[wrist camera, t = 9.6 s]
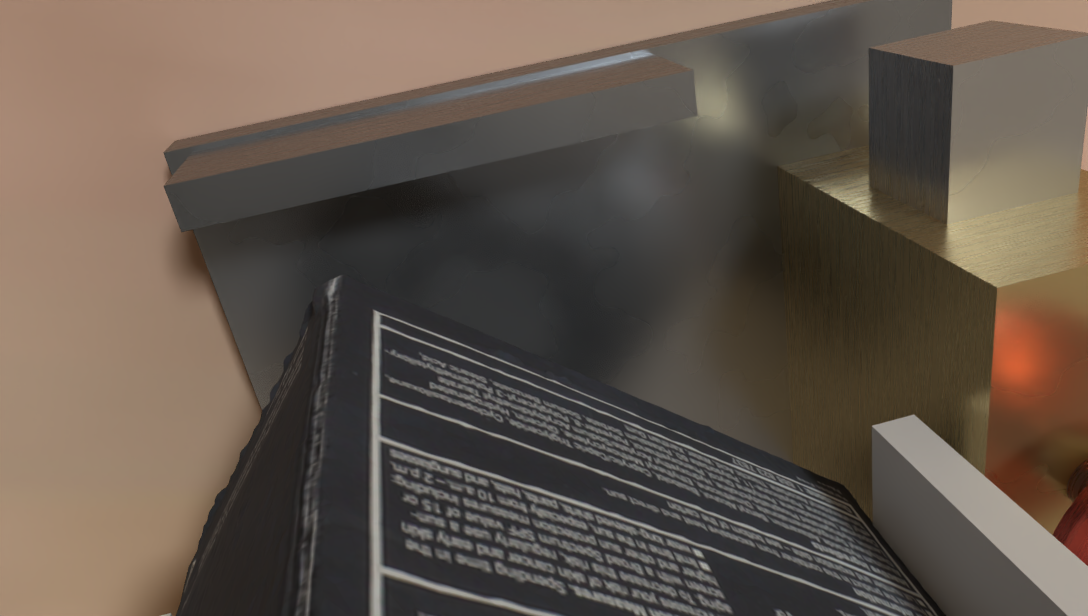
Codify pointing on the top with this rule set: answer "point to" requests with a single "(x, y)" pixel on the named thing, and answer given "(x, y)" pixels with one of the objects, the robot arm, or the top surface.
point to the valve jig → (717, 231)
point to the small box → (512, 493)
